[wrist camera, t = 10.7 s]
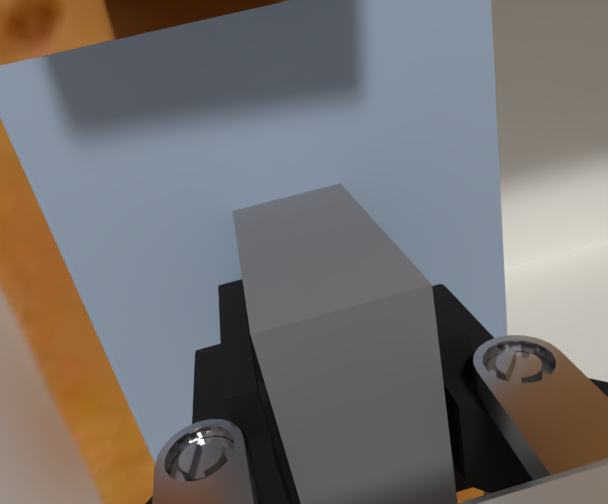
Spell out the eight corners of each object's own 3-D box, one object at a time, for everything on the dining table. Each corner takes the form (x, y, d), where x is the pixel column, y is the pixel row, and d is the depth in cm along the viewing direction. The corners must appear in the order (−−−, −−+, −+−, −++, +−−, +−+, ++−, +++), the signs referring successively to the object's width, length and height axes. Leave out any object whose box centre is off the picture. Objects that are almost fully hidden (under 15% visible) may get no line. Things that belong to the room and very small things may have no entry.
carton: (726, 216, 25) (943, 291, 17) (325, 326, 23) (379, 459, 16) (773, -102, 19) (1114, -185, 12) (256, 15, 18) (289, 2, 11)
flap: (501, 432, 16) (643, 625, 11) (192, 525, 15) (185, 779, 10) (472, -40, 11) (727, -113, 5) (-7, 68, 10) (-245, 103, 5)
